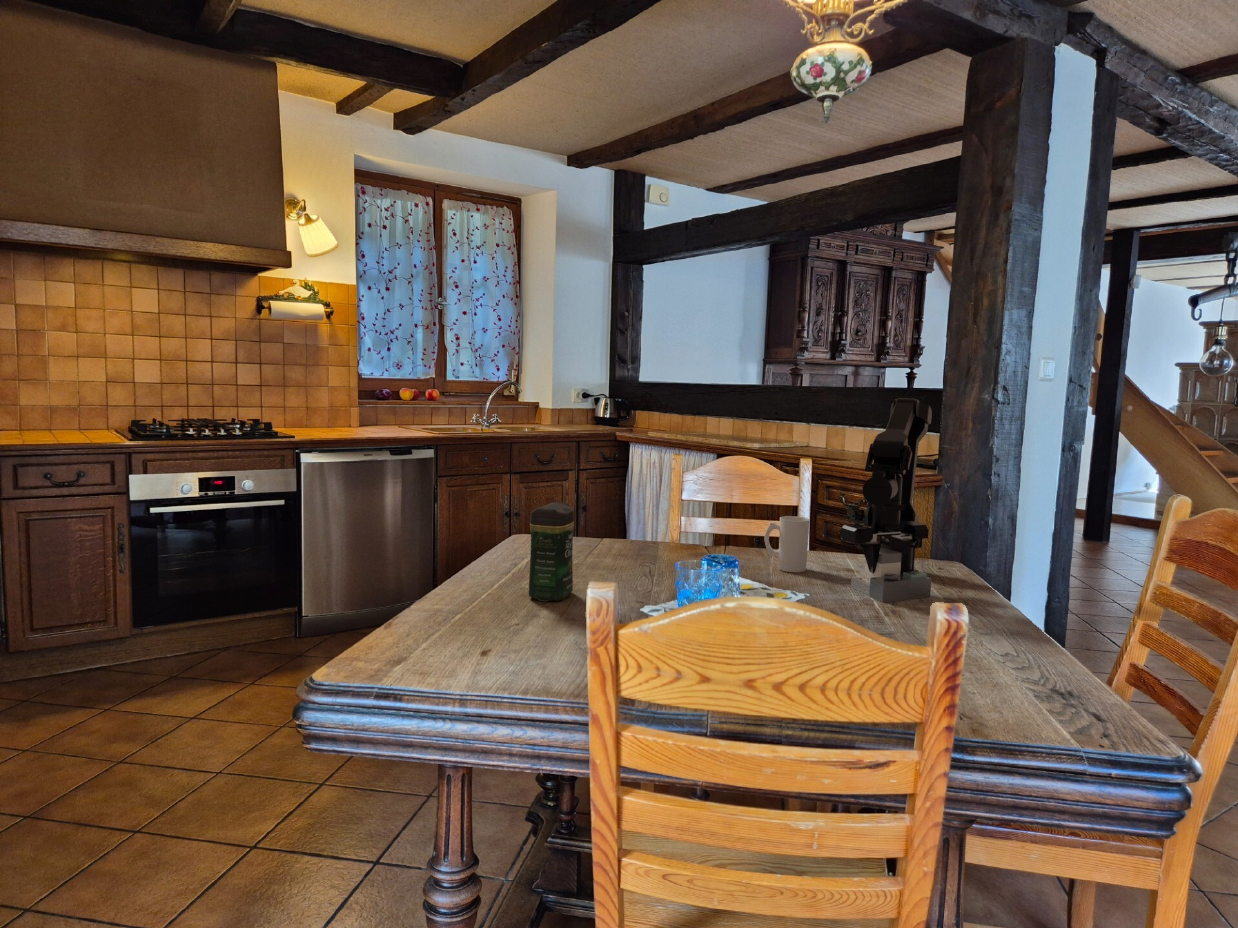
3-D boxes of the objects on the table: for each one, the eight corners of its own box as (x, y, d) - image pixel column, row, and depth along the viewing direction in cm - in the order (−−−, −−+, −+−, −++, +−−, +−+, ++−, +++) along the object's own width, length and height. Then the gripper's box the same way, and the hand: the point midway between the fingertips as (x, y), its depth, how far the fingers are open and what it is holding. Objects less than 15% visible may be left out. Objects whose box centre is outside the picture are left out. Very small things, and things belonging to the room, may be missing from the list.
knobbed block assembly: (847, 587, 163) (849, 565, 162) (893, 583, 167) (894, 561, 166) (882, 602, 152) (883, 578, 152) (930, 597, 156) (931, 574, 156)
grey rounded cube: (883, 575, 164) (885, 547, 164) (899, 580, 160) (901, 552, 159) (864, 576, 163) (866, 549, 162) (880, 582, 158) (882, 554, 157)
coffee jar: (561, 604, 146) (562, 509, 144) (523, 600, 149) (524, 506, 146) (578, 591, 156) (579, 501, 154) (541, 587, 158) (542, 499, 156)
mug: (806, 567, 180) (809, 516, 179) (807, 573, 174) (810, 522, 172) (763, 564, 182) (765, 514, 181) (762, 570, 176) (764, 519, 174)
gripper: (896, 491, 170) (892, 560, 172) (825, 494, 164) (822, 565, 165) (932, 499, 160) (928, 572, 162) (859, 502, 153) (855, 578, 155)
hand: (882, 571), depth 161 cm, fingers closed on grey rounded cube, 5 cm apart
